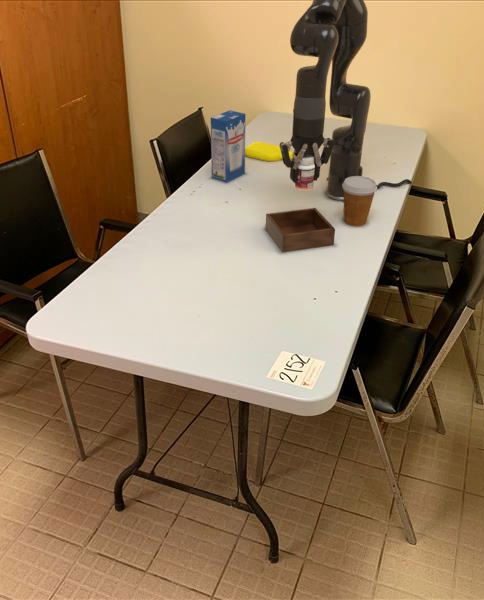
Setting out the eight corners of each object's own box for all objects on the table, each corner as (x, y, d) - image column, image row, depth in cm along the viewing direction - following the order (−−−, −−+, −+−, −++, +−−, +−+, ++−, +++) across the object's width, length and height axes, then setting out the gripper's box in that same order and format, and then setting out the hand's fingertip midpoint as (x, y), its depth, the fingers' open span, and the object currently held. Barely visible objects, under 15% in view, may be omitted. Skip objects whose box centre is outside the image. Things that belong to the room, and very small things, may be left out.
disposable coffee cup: (351, 211, 177) (356, 172, 170) (378, 221, 171) (384, 182, 164) (331, 221, 171) (335, 181, 165) (358, 232, 166) (364, 191, 159)
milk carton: (226, 182, 194) (226, 121, 183) (211, 178, 197) (210, 117, 186) (244, 173, 201) (245, 113, 189) (230, 169, 204) (230, 110, 192)
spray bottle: (256, 147, 221) (317, 160, 212) (241, 156, 213) (304, 170, 204) (256, 140, 220) (318, 152, 210) (241, 148, 212) (305, 162, 202)
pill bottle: (293, 184, 155) (295, 153, 151) (311, 184, 156) (313, 152, 151) (296, 192, 151) (298, 160, 147) (314, 191, 152) (317, 159, 147)
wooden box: (314, 223, 170) (315, 207, 168) (333, 245, 159) (335, 228, 157) (265, 229, 167) (265, 213, 164) (282, 252, 156) (282, 236, 153)
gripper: (286, 120, 138) (282, 189, 148) (343, 115, 142) (336, 183, 151) (275, 111, 144) (273, 178, 154) (330, 106, 148) (324, 172, 157)
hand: (304, 180), depth 152 cm, fingers closed on pill bottle, 4 cm apart
